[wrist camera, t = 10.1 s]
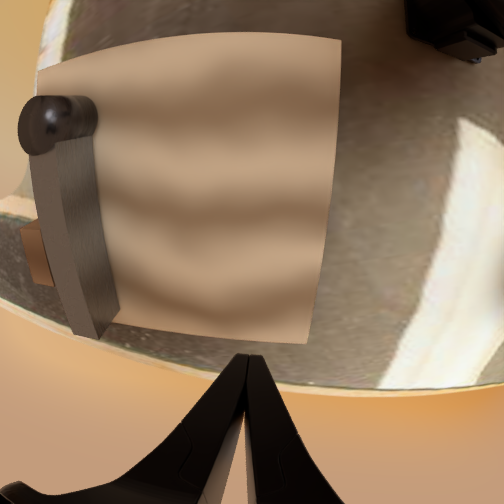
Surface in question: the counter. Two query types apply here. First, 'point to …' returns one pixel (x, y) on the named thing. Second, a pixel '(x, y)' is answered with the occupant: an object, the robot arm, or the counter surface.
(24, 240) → the block
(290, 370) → the counter surface
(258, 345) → the counter surface
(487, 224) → the counter surface
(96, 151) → the tan flat square sheet
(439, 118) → the counter surface
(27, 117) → the swing bar
